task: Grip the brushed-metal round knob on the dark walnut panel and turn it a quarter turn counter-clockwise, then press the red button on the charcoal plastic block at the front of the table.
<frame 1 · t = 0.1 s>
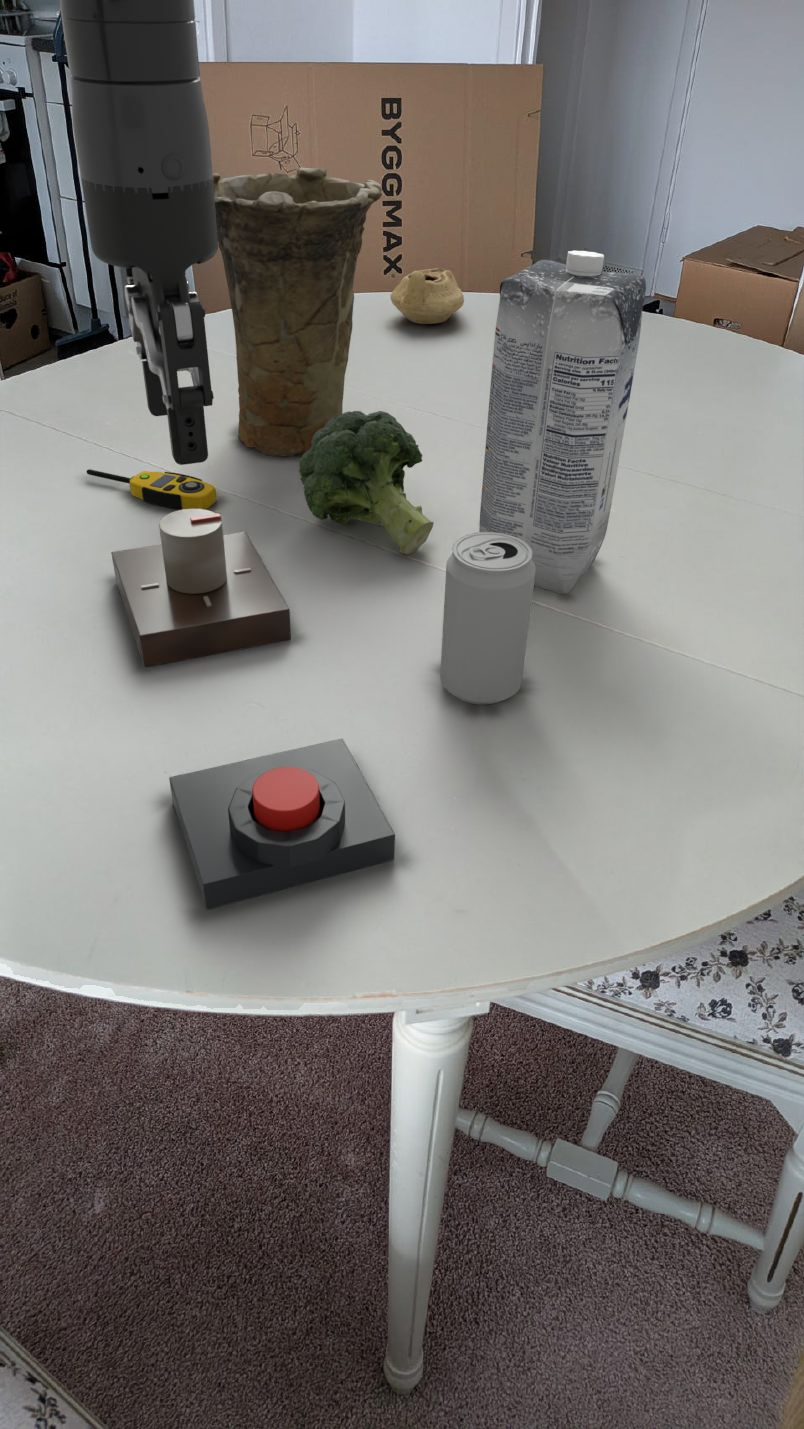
hand: (177, 436, 68), 19 cm above the table, tool pointing down, fingers open, 8 cm apart
vase: (297, 435, 116), on the table
yellow walkie talkie: (149, 493, 103), on the table
beverage can: (479, 687, 78), on the table
button block: (280, 829, 65), on the table
button: (286, 798, 60), point 4 cm above the table, slide at 0.1 cm
oil lamp: (427, 319, 153), on the table
knob: (193, 549, 82), point 6 cm above the table, hinge at 0.0°
juice carton: (537, 569, 93), on the table
vegetable: (372, 531, 98), on the table
panel: (200, 609, 85), on the table
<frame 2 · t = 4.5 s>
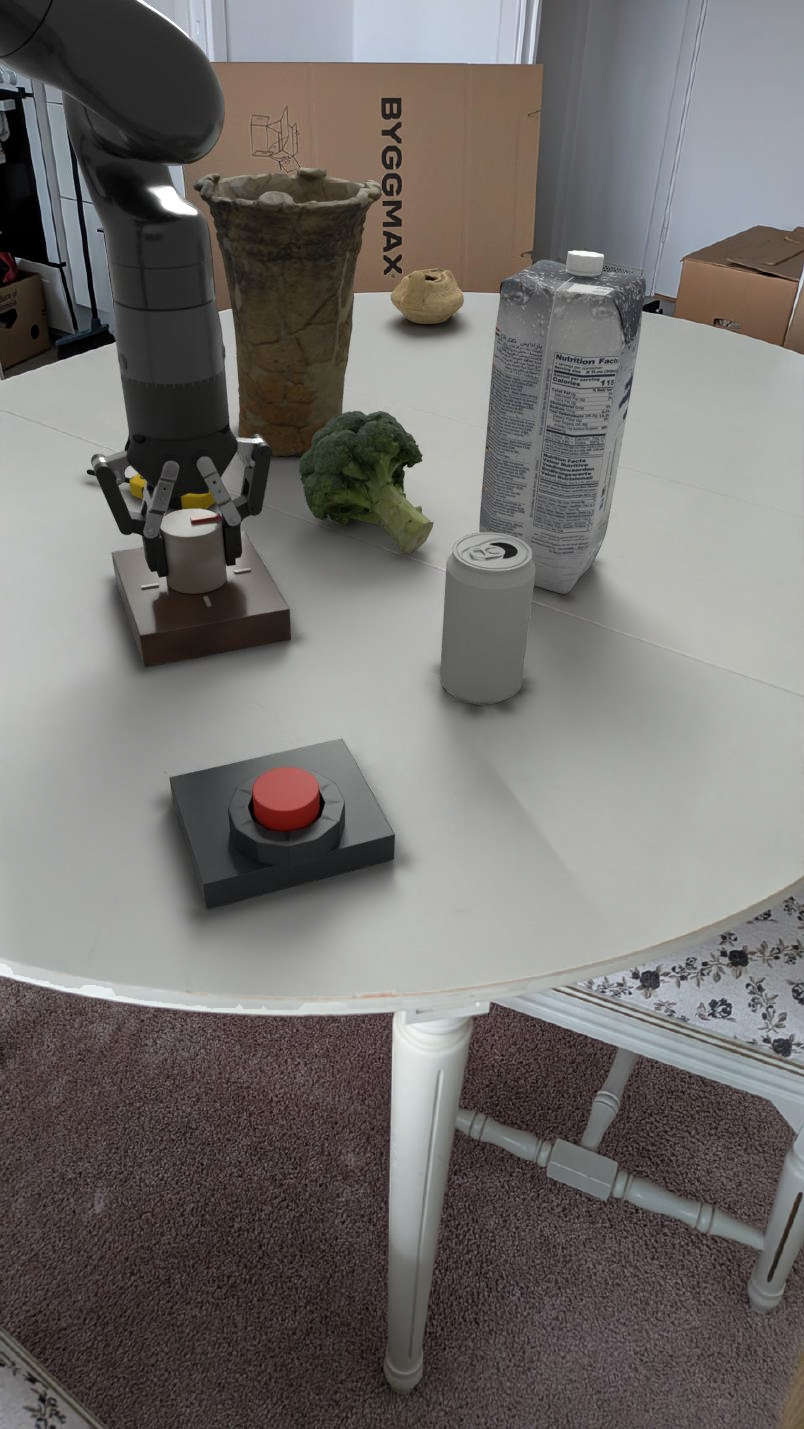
hand: (195, 566, 83), 4 cm above the table, tool pointing down, fingers closed on knob, 5 cm apart
knob: (193, 549, 82), point 6 cm above the table, hinge at 0.0°, touching gripper
everything else where it was.
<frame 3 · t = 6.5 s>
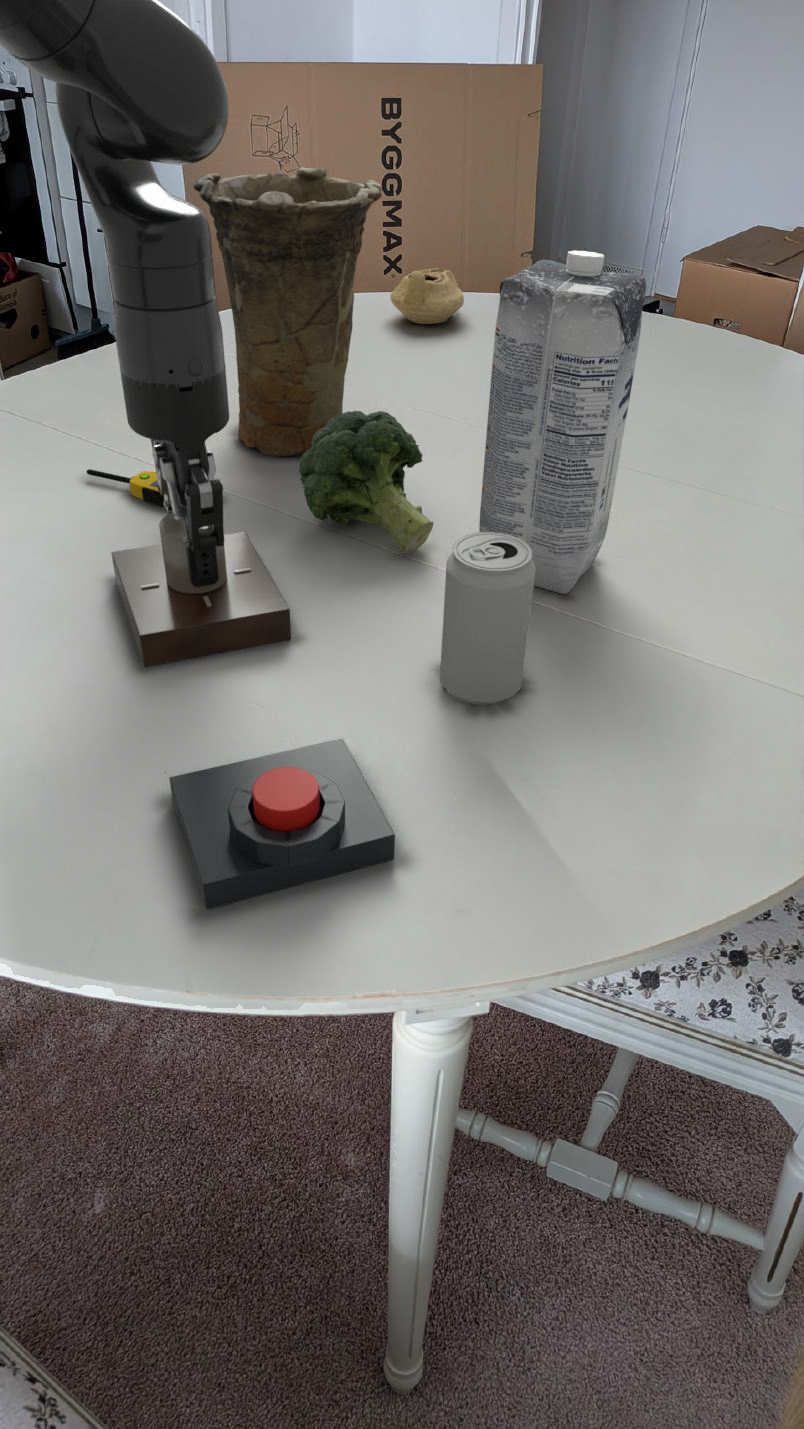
hand: (195, 566, 83), 4 cm above the table, tool pointing down, fingers closed on knob, 5 cm apart
knob: (193, 549, 82), point 6 cm above the table, hinge at 93.7°, touching gripper
everything else where it was.
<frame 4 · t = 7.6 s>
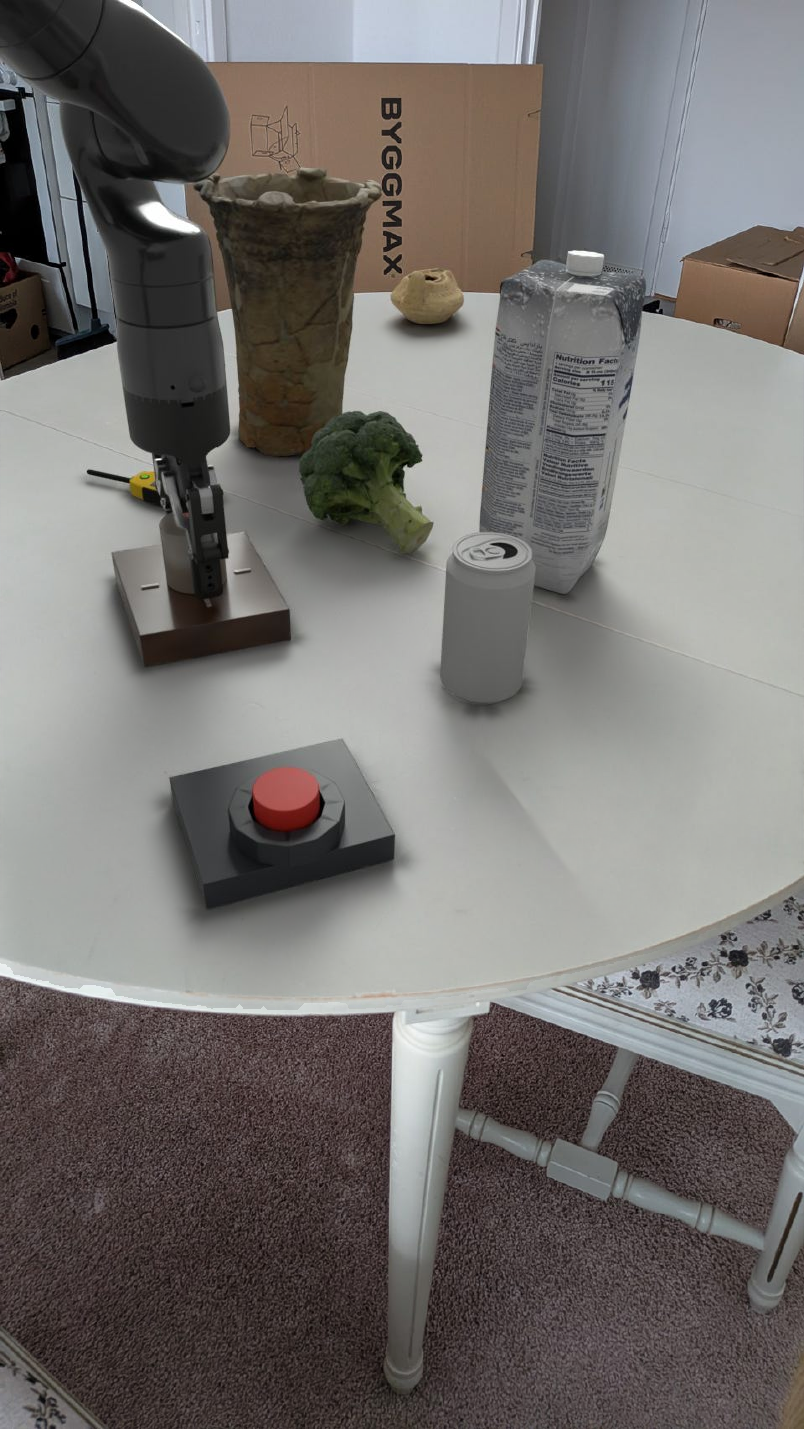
hand: (196, 571, 83), 4 cm above the table, tool pointing down, fingers open, 7 cm apart
knob: (193, 549, 82), point 6 cm above the table, hinge at 93.4°
everything else where it was.
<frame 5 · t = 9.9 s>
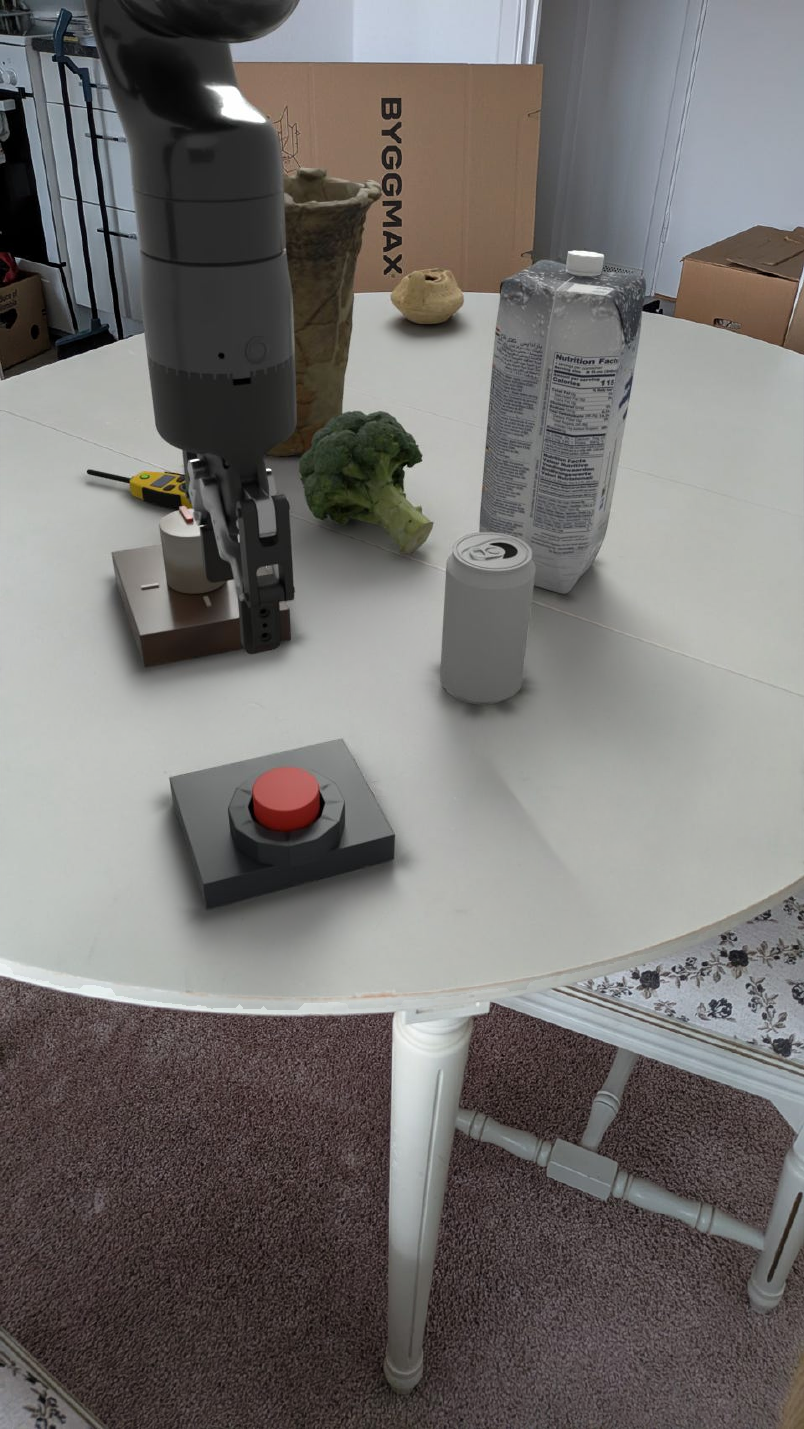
hand: (241, 612, 61), 13 cm above the table, tool pointing down, fingers open, 8 cm apart
nothing on the table moved.
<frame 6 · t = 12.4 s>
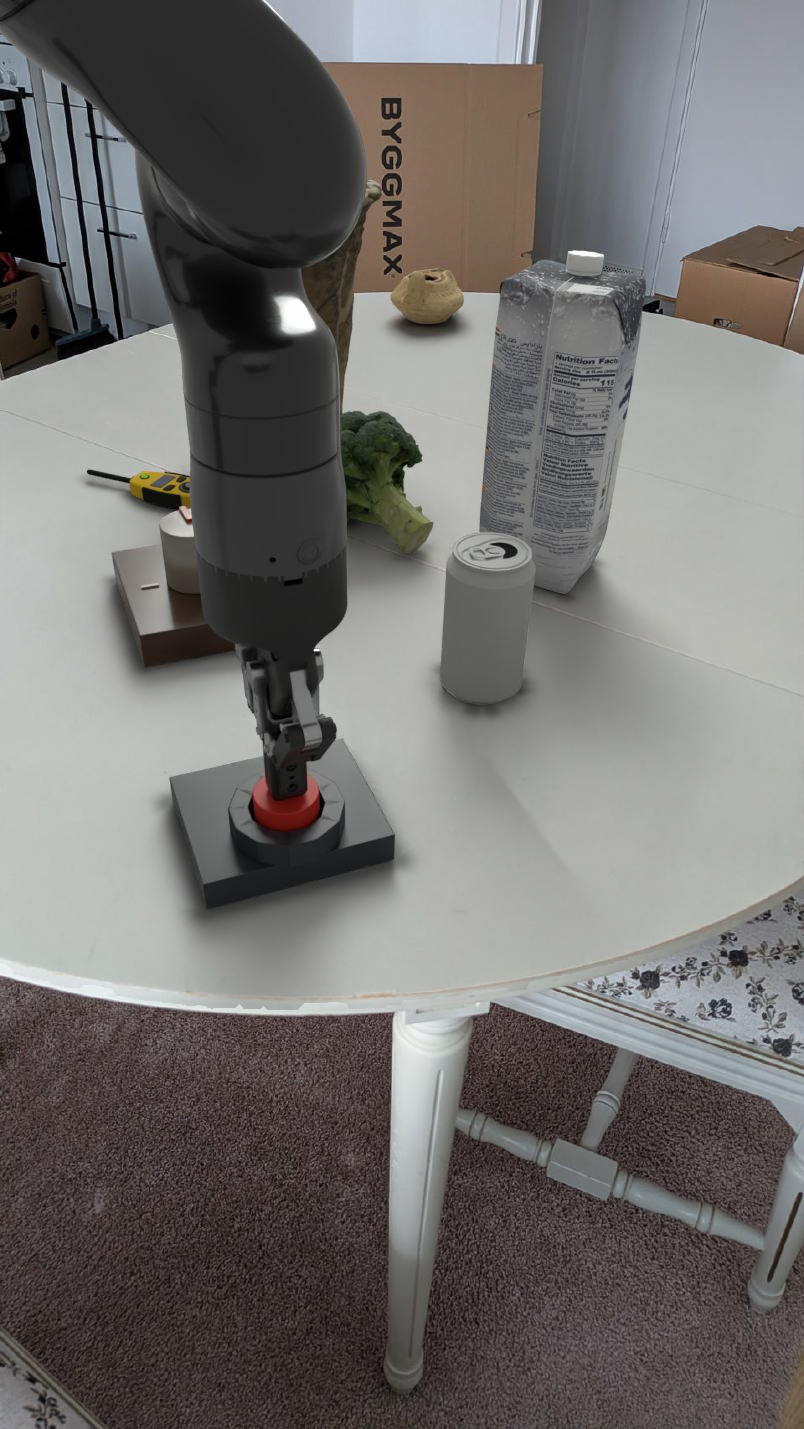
hand: (287, 790, 60), 5 cm above the table, tool pointing down, fingers closed
button: (286, 801, 61), point 4 cm above the table, slide at -0.1 cm, touching gripper
everything else where it was.
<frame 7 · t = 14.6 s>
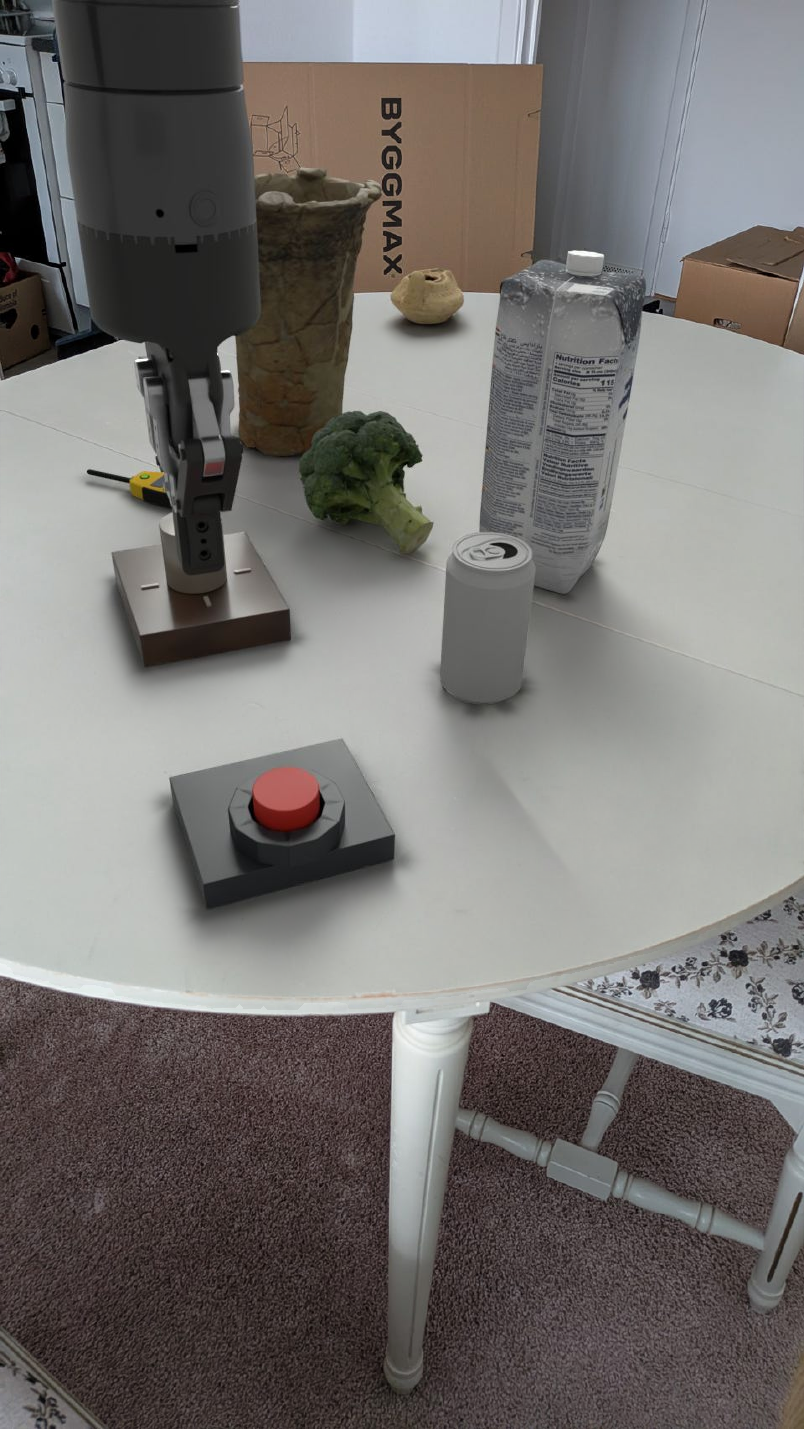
hand: (201, 567, 53), 19 cm above the table, tool pointing down, fingers closed
button: (286, 798, 60), point 4 cm above the table, slide at 0.1 cm
everything else where it was.
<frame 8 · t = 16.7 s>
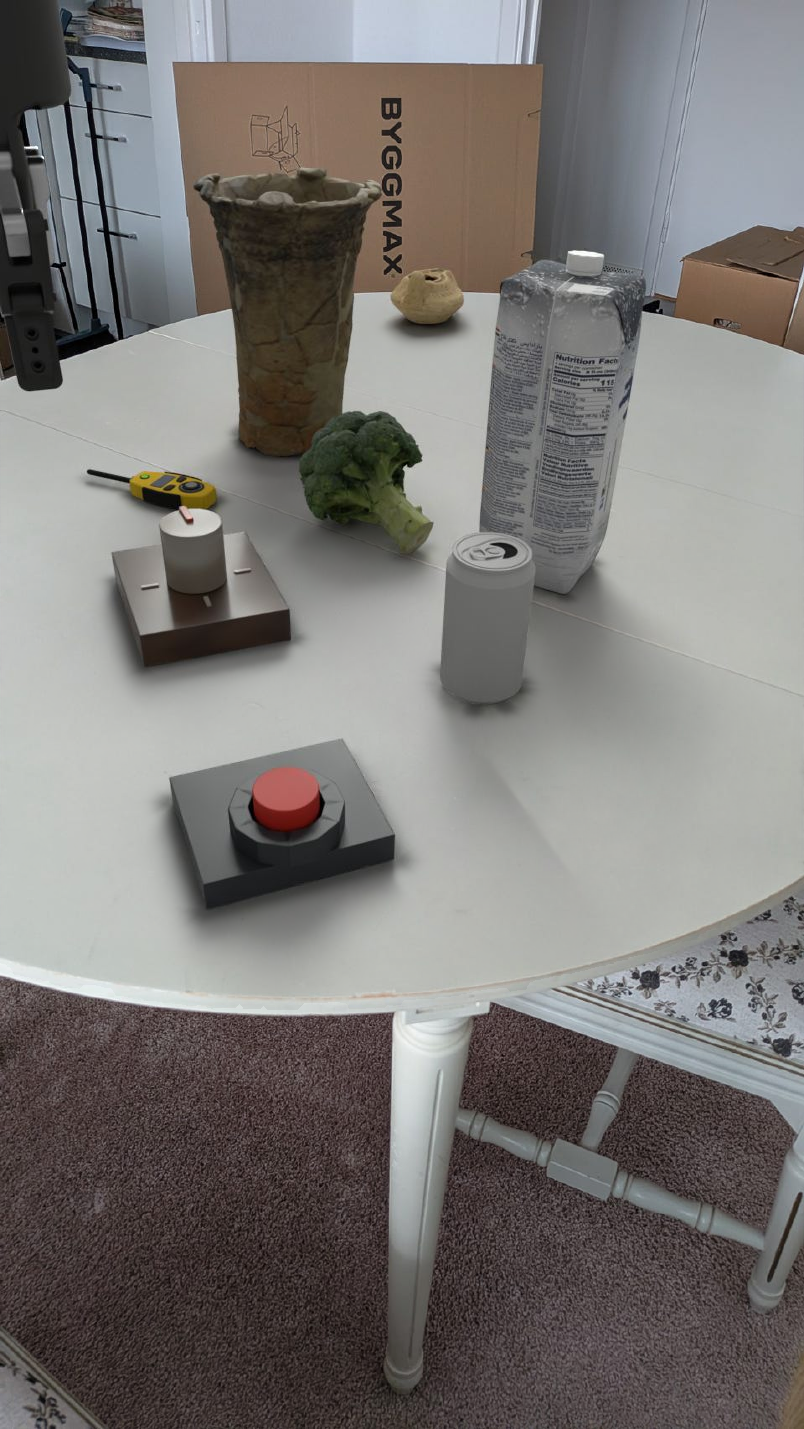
hand: (40, 385, 52), 27 cm above the table, tool pointing down, fingers closed
nothing on the table moved.
at the end: knob at +93° (first picture: +0°); button pushed in 1.1 cm at the most during the clip, back to where it started at the end; button slide at 0.1 cm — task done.
